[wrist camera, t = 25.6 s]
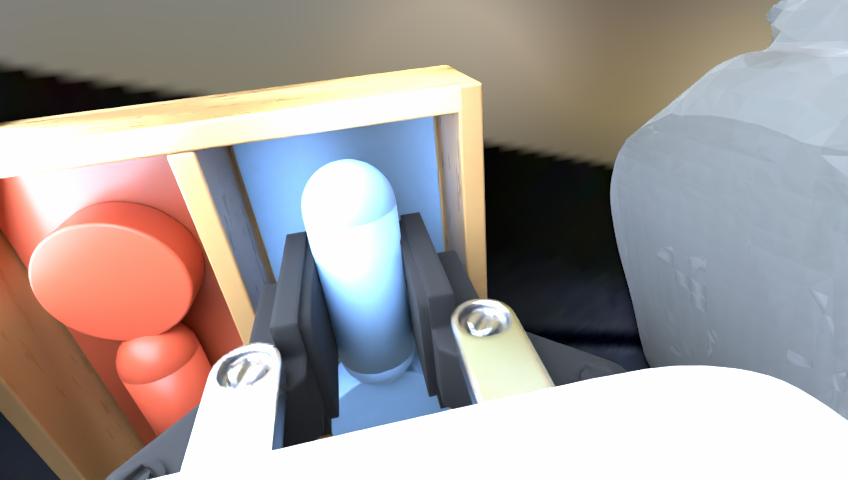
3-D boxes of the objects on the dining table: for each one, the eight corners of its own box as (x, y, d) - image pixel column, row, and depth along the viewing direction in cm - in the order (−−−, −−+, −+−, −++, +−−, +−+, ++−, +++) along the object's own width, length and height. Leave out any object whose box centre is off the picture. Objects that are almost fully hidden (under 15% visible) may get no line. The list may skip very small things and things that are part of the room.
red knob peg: (28, 213, 11) (-32, 255, 9) (177, 190, 12) (148, 225, 10) (175, 449, 16) (155, 507, 15) (275, 427, 17) (269, 480, 15)
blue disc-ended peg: (443, 407, 16) (459, 462, 14) (340, 430, 15) (342, 491, 13) (415, 136, 11) (434, 165, 9) (260, 159, 10) (244, 194, 8)
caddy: (148, 452, 17) (113, 540, 15) (-69, 131, 11) (-211, 176, 8) (467, 381, 19) (491, 448, 16) (447, 64, 12) (483, 82, 10)
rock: (849, 314, 22) (1080, 452, 15) (647, 404, 22) (785, 578, 16) (921, -108, 13) (1601, -238, 6) (575, 60, 13) (838, 118, 6)
